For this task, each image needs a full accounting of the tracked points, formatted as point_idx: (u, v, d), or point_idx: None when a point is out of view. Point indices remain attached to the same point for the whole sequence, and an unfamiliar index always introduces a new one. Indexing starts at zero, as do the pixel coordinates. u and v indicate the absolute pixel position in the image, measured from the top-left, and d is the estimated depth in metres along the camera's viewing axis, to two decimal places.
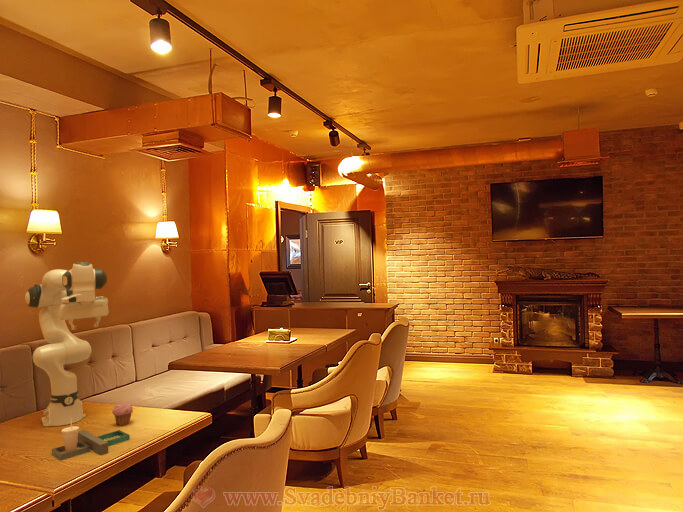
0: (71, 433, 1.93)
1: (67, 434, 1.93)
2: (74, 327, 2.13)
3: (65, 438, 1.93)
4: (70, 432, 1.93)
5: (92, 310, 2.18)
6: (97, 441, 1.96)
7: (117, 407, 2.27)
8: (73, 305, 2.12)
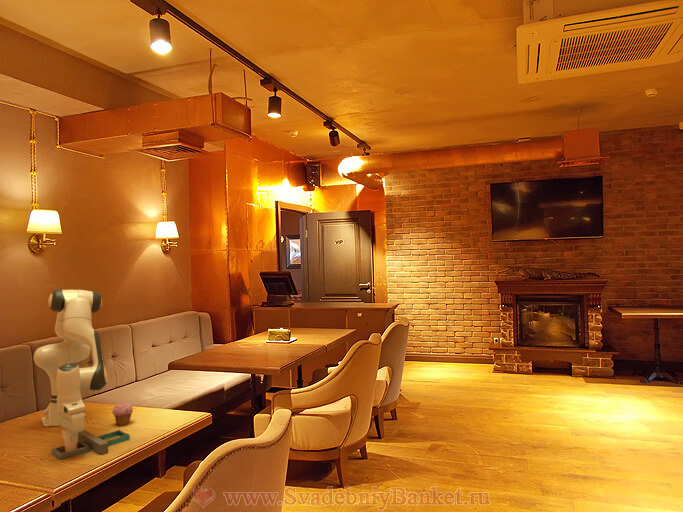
0: (71, 433, 1.93)
1: (67, 434, 1.93)
2: None
3: (65, 438, 1.93)
4: (70, 432, 1.93)
5: None
6: (97, 441, 1.96)
7: (117, 407, 2.27)
8: None
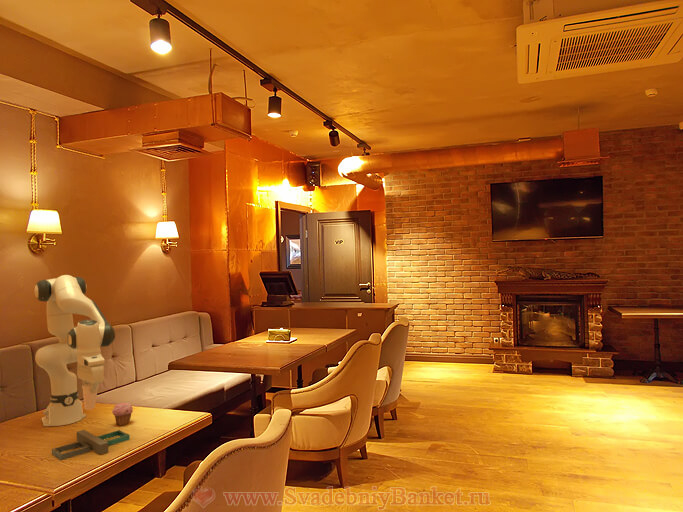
0: None
1: (87, 389, 1.99)
2: None
3: (85, 393, 1.99)
4: (90, 387, 1.99)
5: None
6: (97, 441, 1.96)
7: (117, 407, 2.27)
8: None
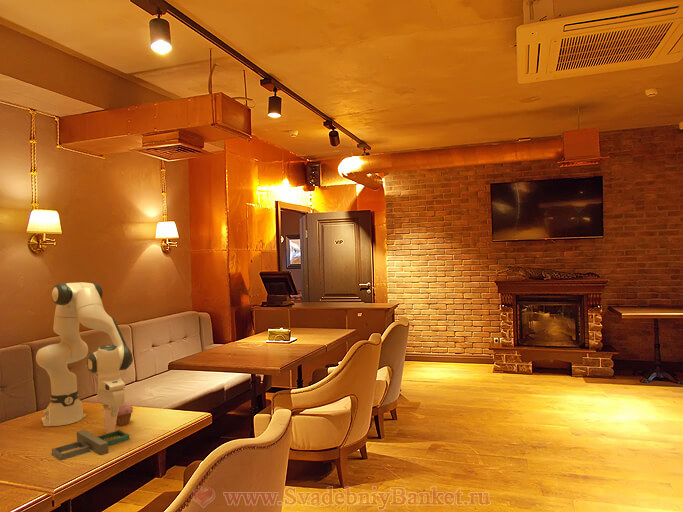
0: (111, 412, 2.05)
1: (108, 413, 2.05)
2: None
3: (106, 417, 2.05)
4: (110, 411, 2.05)
5: None
6: (97, 441, 1.96)
7: None
8: None
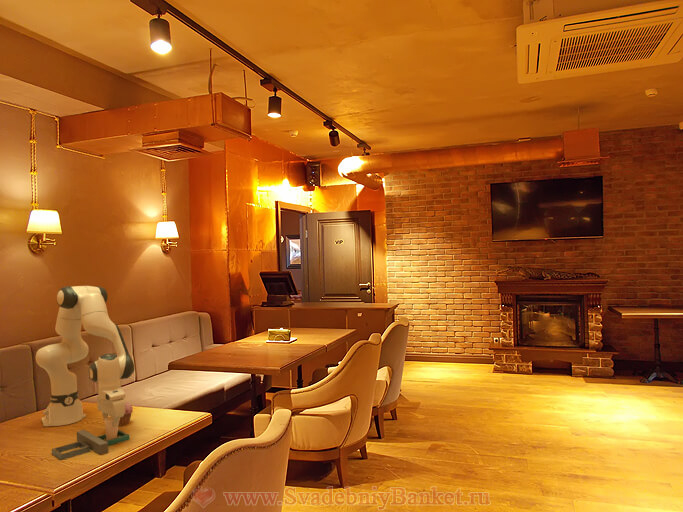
0: (112, 422, 2.05)
1: (109, 423, 2.04)
2: None
3: (107, 427, 2.04)
4: (112, 421, 2.04)
5: None
6: (97, 441, 1.96)
7: None
8: None
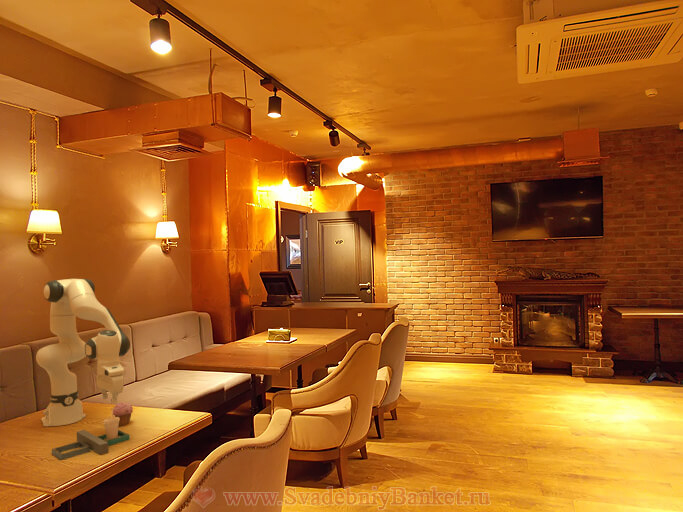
0: (112, 423, 2.04)
1: (108, 424, 2.03)
2: None
3: (106, 428, 2.04)
4: (111, 422, 2.04)
5: None
6: (97, 441, 1.96)
7: (117, 407, 2.27)
8: None
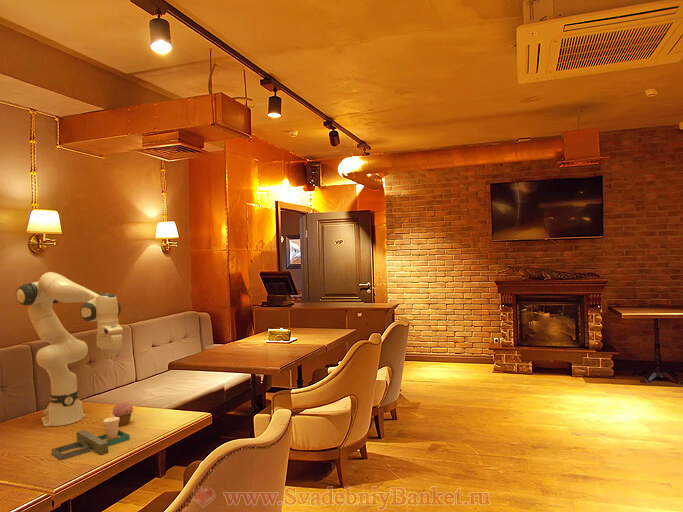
0: (112, 423, 2.04)
1: (108, 424, 2.03)
2: None
3: (106, 428, 2.04)
4: (111, 422, 2.04)
5: None
6: (97, 441, 1.96)
7: (117, 407, 2.27)
8: None
